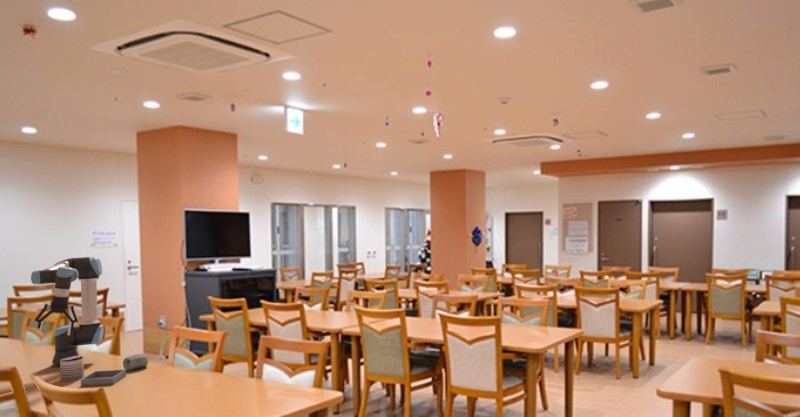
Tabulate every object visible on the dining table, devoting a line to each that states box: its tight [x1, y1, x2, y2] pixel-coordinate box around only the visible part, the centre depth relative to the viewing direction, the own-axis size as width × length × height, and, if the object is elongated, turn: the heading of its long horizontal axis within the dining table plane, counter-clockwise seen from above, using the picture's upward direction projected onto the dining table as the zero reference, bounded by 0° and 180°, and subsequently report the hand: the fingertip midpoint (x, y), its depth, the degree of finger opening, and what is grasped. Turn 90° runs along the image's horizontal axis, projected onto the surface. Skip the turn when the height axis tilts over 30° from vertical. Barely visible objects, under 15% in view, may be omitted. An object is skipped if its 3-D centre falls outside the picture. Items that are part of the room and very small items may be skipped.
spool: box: [122, 353, 149, 372], centre depth 339 cm, size 14×10×10 cm
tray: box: [80, 369, 127, 387], centre depth 316 cm, size 17×17×4 cm
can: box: [60, 354, 85, 382], centre depth 323 cm, size 11×11×12 cm
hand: (54, 334), depth 315 cm, fingers open, 13 cm apart
